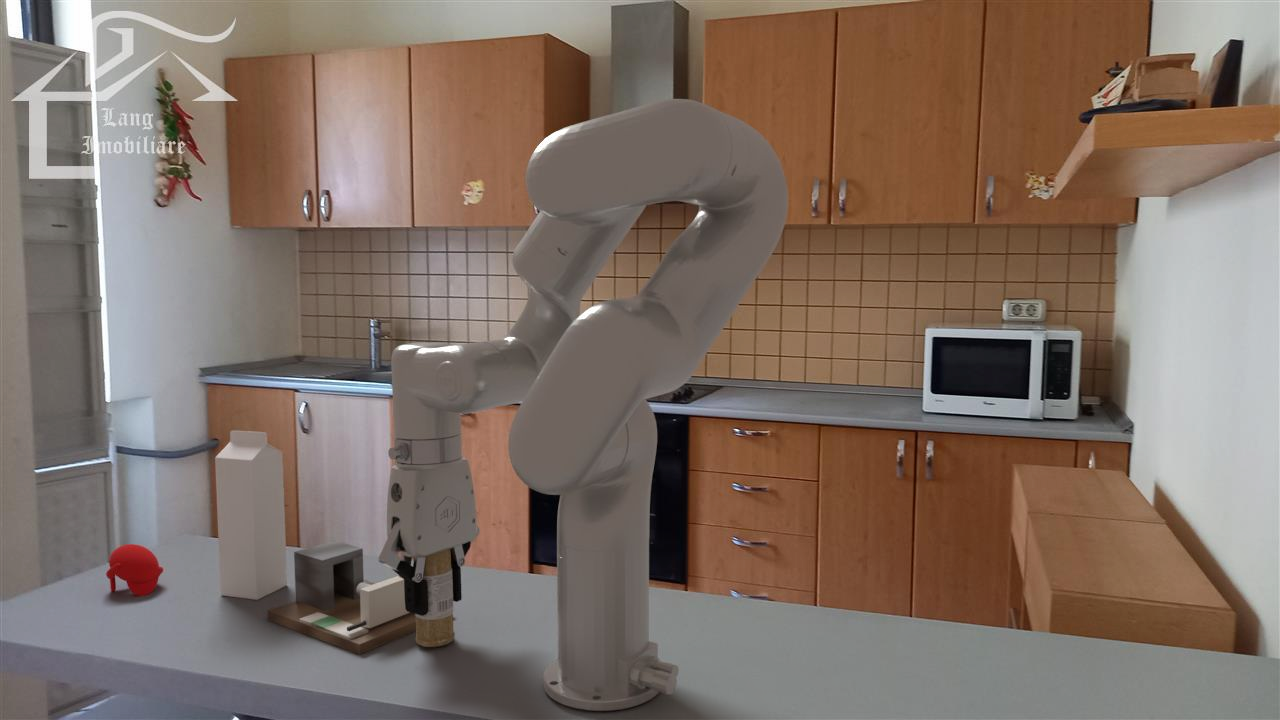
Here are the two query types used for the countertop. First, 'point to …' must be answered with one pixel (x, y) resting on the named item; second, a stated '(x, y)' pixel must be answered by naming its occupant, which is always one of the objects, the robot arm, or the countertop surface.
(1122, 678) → the countertop surface
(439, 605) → the sprinkles bottle
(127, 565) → the cap
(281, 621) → the gauge frame
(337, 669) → the countertop surface
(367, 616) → the spring plunger
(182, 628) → the countertop surface
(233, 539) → the milk
